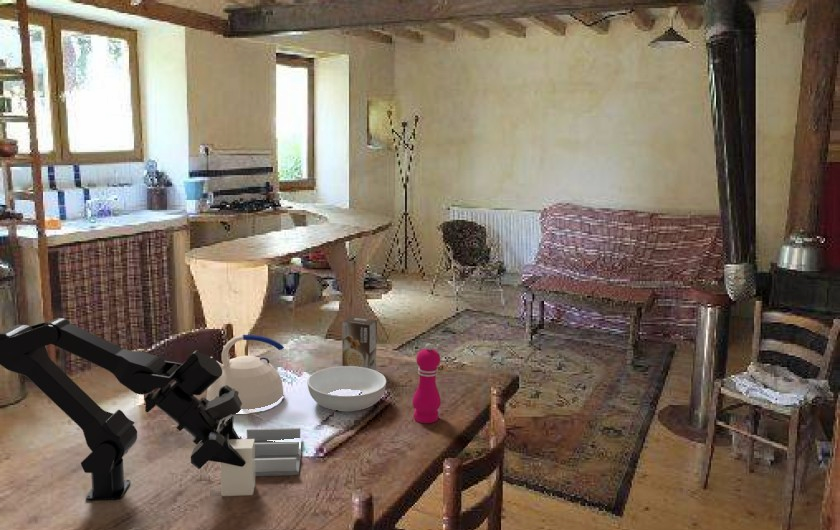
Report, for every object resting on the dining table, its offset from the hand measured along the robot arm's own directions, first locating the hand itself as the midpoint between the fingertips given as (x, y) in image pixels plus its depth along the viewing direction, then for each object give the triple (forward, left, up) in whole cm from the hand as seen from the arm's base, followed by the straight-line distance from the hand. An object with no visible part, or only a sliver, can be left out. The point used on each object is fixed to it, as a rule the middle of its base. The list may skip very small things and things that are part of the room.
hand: (245, 459), depth 129 cm
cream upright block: (0, +1, -7) cm, 7 cm away
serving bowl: (+42, -21, -7) cm, 47 cm away
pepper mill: (+32, -41, -7) cm, 52 cm away
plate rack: (+13, -4, -7) cm, 15 cm away
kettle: (+46, +6, -7) cm, 47 cm away
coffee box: (+66, -25, -7) cm, 71 cm away
